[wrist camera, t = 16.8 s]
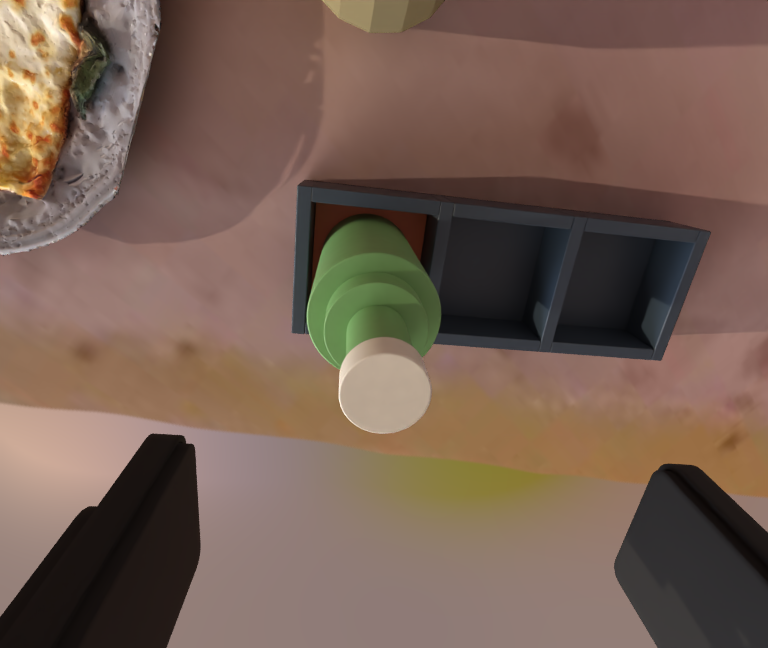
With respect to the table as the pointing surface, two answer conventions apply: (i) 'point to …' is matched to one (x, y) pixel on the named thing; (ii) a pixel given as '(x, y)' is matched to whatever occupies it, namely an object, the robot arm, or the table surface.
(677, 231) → the tray
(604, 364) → the table surface
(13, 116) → the food plate
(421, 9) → the squeeze bottle
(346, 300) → the bottle
